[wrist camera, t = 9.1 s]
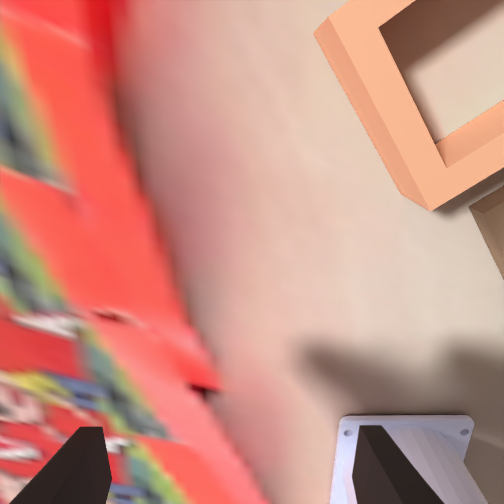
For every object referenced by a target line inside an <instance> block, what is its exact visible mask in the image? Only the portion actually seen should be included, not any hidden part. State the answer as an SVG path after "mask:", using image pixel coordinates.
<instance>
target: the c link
mask: <svg viewBox="0 0 504 504" xmlns="http://www.w3.org/2000/svg"><path fill="white" fill-rule="evenodd" d="M414 1H415V0H350V1H348V2H347V3H346V4H345V5H343V6H342V7H341V8H339V9H338V10H337V11H335V12H334V13H333V14H331V15H330V16H329V17H328V18H327V19H326V20H325V21H324V22H323V23H322V24H321V25H320V26H319V28H318V29H317V30H316V31H315V32H314V33H313V34H314V36H315V38H316V40H317V41H318V43H319V45H320V47H321V49H322V51H323V52H324V54H325V56H326V58H327V60H328V62H329V63H330V65H331V67H332V69H333V71H334V73H335V74H336V76H337V78H338V80H339V82H340V84H341V85H342V87H343V89H344V91H345V93H346V95H347V96H348V98H349V100H350V102H351V104H352V105H353V107H354V109H355V111H356V113H357V115H358V116H359V118H360V120H361V122H362V124H363V126H364V127H365V129H366V131H367V133H368V135H369V137H370V138H371V140H372V142H373V144H374V146H375V148H376V149H377V151H378V153H379V155H380V157H381V159H382V160H383V162H384V164H385V166H386V168H387V170H388V171H389V173H390V175H391V177H392V179H393V181H394V182H395V184H396V186H397V188H398V190H399V191H400V193H401V195H403V196H405V197H406V198H408V199H410V200H412V201H413V202H415V203H417V204H419V205H420V206H422V207H424V208H426V209H427V210H429V211H432V210H434V209H435V208H437V207H439V206H440V205H442V204H444V203H445V202H447V201H449V200H450V199H452V198H454V197H455V196H457V195H459V194H460V193H462V192H464V191H465V190H467V189H469V188H470V187H472V186H474V185H475V184H477V183H479V182H480V181H482V180H483V179H485V178H487V177H488V176H490V175H492V174H493V173H495V172H497V171H498V170H500V169H502V168H503V167H504V100H503V101H502V102H500V103H498V104H497V105H495V106H494V107H492V108H491V109H489V110H487V111H486V112H484V113H483V114H481V115H480V116H478V117H477V118H475V119H473V120H472V121H470V122H469V123H467V124H466V125H464V126H463V127H461V128H459V129H458V130H456V131H455V132H453V133H452V134H450V135H448V136H447V137H445V138H444V139H442V140H441V141H439V142H438V143H436V144H434V142H433V140H432V138H431V135H430V133H429V131H428V129H427V127H426V125H425V123H424V121H423V119H422V117H421V115H420V113H419V111H418V109H417V107H416V105H415V103H414V100H413V98H412V96H411V94H410V92H409V90H408V88H407V86H406V84H405V82H404V80H403V78H402V76H401V74H400V72H399V70H398V68H397V66H396V63H395V61H394V59H393V57H392V55H391V53H390V51H389V49H388V47H387V45H386V43H385V41H384V39H383V37H382V35H381V33H380V31H379V29H378V27H380V26H381V25H382V24H384V23H385V22H386V21H388V20H389V19H391V18H392V17H393V16H395V15H396V14H397V13H399V12H400V11H401V10H403V9H404V8H406V7H407V6H408V5H410V4H411V3H412V2H414Z"/></svg>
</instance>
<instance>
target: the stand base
mask: <svg viewBox="0 0 504 504" xmlns="http://www.w3.org/2000/svg"><path fill="white" fill-rule="evenodd" d="M469 209H470V211H471V213H472V215H473V217H474V219H475V221H476V223H477V225H478V227H479V229H480V231H481V233H482V236H483V238H484V240H485V242H486V244H487V246H488V248H489V250H490V252H491V254H492V256H493V258H494V260H495V263H496V265H497V267H498V269H499V271H500V273H501V275H502V277H503V279H504V186H503V187H501V188H499V189H498V190H496V191H494V192H493V193H491V194H489V195H488V196H486V197H484V198H482V199H481V200H479V201H477V202H476V203H474V204H472V205H471V206H469Z"/></svg>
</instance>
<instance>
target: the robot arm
mask: <svg viewBox="0 0 504 504" xmlns="http://www.w3.org/2000/svg"><path fill="white" fill-rule="evenodd" d="M473 428H474V421H473V420H472V418H471V417H470V416H468V415H396V416H345V417H343V418H342V419H341V420H340V422H339V430H338V438H337V446H336V454H335V462H334V470H333V478H332V486H331V494H330V503H329V504H489V503H488V502H487V500H486V499H485V497H484V495H483V494H482V492H481V490H480V489H479V487H478V485H477V484H476V482H475V480H474V479H473V477H472V476H471V474H470V472H469V471H468V469H467V467H466V466H465V464H464V458H465V455H466V452H467V448H468V445H469V442H470V438H471V435H472V432H473ZM346 430H349V431H346ZM111 481H112V476H111V471H110V465H109V460H108V455H107V449H106V444H105V439H104V433H103V428H102V427H80V428H79V429H77V430H76V432H75V433H74V434H73V435H72V436H71V437H70V438H69V439H68V440H67V442H66V443H65V444H64V445H63V446H62V447H61V448H60V449H59V450H58V452H57V453H56V454H55V455H54V456H53V457H52V458H51V459H50V460H49V461H48V463H47V464H46V465H45V466H44V467H43V468H42V469H41V470H40V471H39V472H38V474H37V475H36V476H35V477H34V478H33V479H32V480H31V481H30V482H29V483H28V484H27V485H26V486H25V487H24V488H23V489H22V491H21V492H20V493H19V494H18V495H17V496H16V497H15V498H14V499H13V500H12V501H11V502H10V503H9V504H106V500H107V496H108V492H109V489H110V485H111Z"/></svg>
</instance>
